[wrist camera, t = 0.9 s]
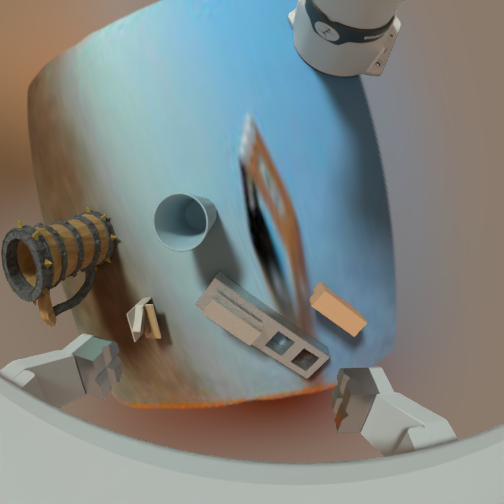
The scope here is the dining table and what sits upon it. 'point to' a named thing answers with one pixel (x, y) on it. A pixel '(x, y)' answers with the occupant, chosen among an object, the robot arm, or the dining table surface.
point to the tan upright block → (337, 309)
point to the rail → (270, 328)
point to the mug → (56, 258)
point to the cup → (183, 220)
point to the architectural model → (143, 320)
